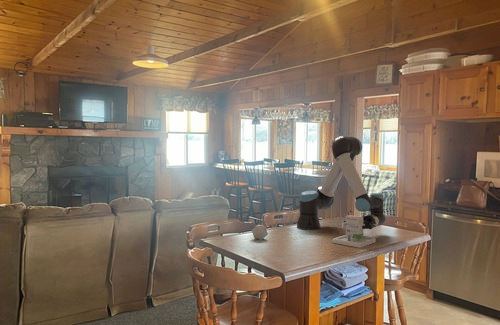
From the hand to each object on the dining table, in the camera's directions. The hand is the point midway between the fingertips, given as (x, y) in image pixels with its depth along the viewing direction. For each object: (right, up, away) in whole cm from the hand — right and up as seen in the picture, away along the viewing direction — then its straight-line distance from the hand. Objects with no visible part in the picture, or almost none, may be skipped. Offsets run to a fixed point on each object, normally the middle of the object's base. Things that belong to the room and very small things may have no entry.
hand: (350, 226), depth 203 cm
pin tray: (+3, -9, +4) cm, 10 cm away
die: (-48, -9, +10) cm, 50 cm away
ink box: (+3, -7, +3) cm, 8 cm away
